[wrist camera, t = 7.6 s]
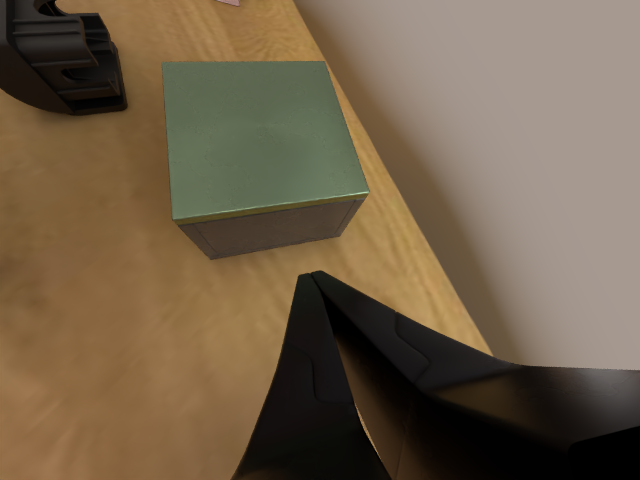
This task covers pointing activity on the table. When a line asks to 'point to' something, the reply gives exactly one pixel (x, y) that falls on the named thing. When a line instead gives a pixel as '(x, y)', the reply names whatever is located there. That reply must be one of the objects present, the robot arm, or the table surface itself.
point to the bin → (271, 228)
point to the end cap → (58, 59)
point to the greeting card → (231, 2)
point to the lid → (255, 139)
